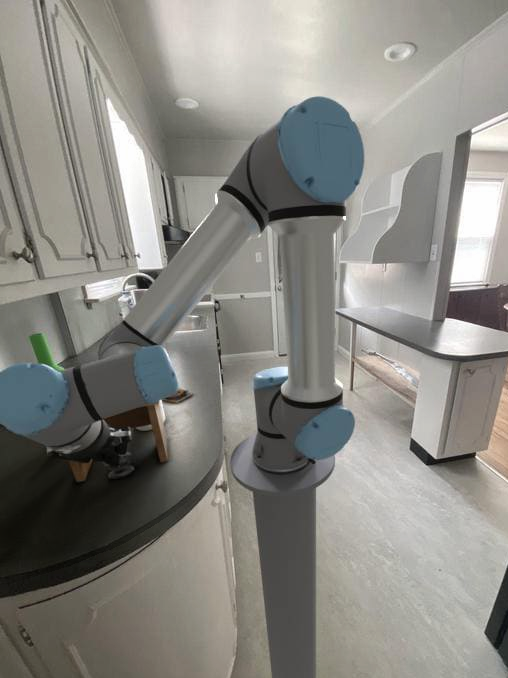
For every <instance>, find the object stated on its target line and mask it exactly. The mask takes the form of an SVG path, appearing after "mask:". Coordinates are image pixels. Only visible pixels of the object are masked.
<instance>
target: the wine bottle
mask: <svg viewBox="0 0 508 678" xmlns="http://www.w3.org/2000/svg"><path fill="white" fill-rule="evenodd" d="M28 338H29V342H30V344H31V346H32V349H33V353H34V354H35V358H36V360H37V363H38V364H44V365H47V366H49V367H51V368H53V369H55V370H56V371H61V370H65V369H66V368H64V367H62V366H60V365H58V364H56V363H55V361H54V358H53V355H52V352H51V350H50V346H49V343H48V342H47V338H46V336H45V334H44V333H43V332H40V333H32V334H29V335H28Z"/></svg>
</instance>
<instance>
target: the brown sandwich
mask: <svg viewBox="0 0 508 678" xmlns="http://www.w3.org/2000/svg"><path fill="white" fill-rule="evenodd" d="M191 396H194V394H193V392H190V391H189V390H185V389H183V388H182V387H178V391H177V392H176V393H175V394H173V395H171V396H169V397H166V398H164V399H161V400H162V401H165V402H171V403H175V404H179V403H180V402H182V401H184V400H186V399H188V398H189V397H191Z"/></svg>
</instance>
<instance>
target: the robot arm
mask: <svg viewBox="0 0 508 678" xmlns="http://www.w3.org/2000/svg"><path fill="white" fill-rule="evenodd" d="M364 169H365V149H364V143H363V138H362V135H361V132H360V130H359V127H358V125H357V122H356V121H353V120H352V118H351V115H350V113H349V111H348V110H347V108H345V107H344V106H343V105H342V104H341V103H340V102H338V101H336V100H335V99H332V98H330V97H328V96H323V95H322V96H320V95H319V96H317V95H316V96H311V97H309V98H306V99H305V100H303V101H301V102H300V103H298V104H296V105H293V106H291V107H289V108H288V109H287V110H286V111H285V112H284V113H283V114H282V116H281V118H280V119H279V120H277V121H276V122H275V123H273V124H272V125H270V127H268V128H267V129H265V131H264V132H262V133H261V134H259V135H258V136H256V138H255V139H253V141H252V142H251V143H250V144H249V145H248V147H247V148H246V149H245V151H244V153H243V154H242V155H241V158H240V159H239V160H238V161H237V163H236V165H235V166H234V168H233V169H232V171H231V173H230V174H229V176H228V177H227V178H226V180H225V181H224V182H223V184H222V186H220V188H219V189H218V190H217V192H216V193H215V196H214V197H215V205H214V206H213V208H212V209H211V210H210V212H208V214H207V215H206V216H205V218H204V219H203V220H202V221H201V223H199V225H198V226H197V227H196V229H195V230H194V231H193V233H192V234H190V236H189V237H188V238H187V240H186V241H185V242H184V244H183V245H182V246H181V248H180V249H179V250H178V251H177V252H176V254H175V255H174V256H173V257H172V259H170V261H169V262H168V263H167V265H166V266H165V267H164V268H163V270H162V271H161V272H160V273H159V274H158V275H157V277H156V278H155V280H154V281H153V282H152V283H151V285H150V286H149V287H148V288H147V290H146V291H145V292H144V293H143V294H142V295H141V297H140V298H139V299H138V300H137V302H136V303H135V304H134V306H133V307H132V308H131V309H130V310H129V312H128V313H127V314H126V315H125V316H124V318H123V319H122V321H121V322H120V323H119V324H118V326H117V327H116V328H115V329H114V330H113V332H111V333H109V334H107V335H106V336H105V338H103V340H102V341H101V343H100V344H99V347H98V351H97V356H98V360H95V361H93V362H89V363H86V364H81V365H77V366H73V367H68V368H64V369H65V370H61V371H56V370H55V369H53V368H51V367H49V366H47V365H44V364H39V363H38V362H21V363H17V364H16V363H15V364H13V365H10V366H8V367H6V368H4V369H3V370H1V371H0V425H2V426H4V427H5V428H6V430H8V431H9V432H11V433H13V434H16V435H19V436H22V437H25V438H27V439H30V440H31V441H34V442H36V443H37V444H39V445H41V446H43V447H46V458H47V459H48V458H49V459H62V460H67V461H69V460H72V461H77V462H82V463H88V462H90V460H91V459H92V461H94V462H101V463H103V462H105V463H107V464H108V465H110V466H115V465H120V463H119V458H120V457H121V455H124V454H126V452H128V444H129V443H130V442H132V441H133V438H132V432H131V430H132V428H131V429H130V427H124V428H123V429H121V430H118V431H115V429H113V428H109V427H108V425H107V424H106V422H105V421H104V420H103V419H105V418H108V417H111V416H114V415H117V414H120V413H123V412H126V411H129V410H132V409H135V408H138V407H141V406H144V405H147V404H150V403H151V404H153V403H156V402H158V401H159V400H161V399H164V398H166V397H169V396H171V395H173V394H175V393H176V392H177V391H178V388H180V387H179V380H178V378H177V374H176V371H175V368H174V366H173V363H172V360H171V358H170V356H169V354H168V352H167V350H166V348H165V346H166V345H167V343H168V342H169V341H170V340H171V338H172V337H173V336H174V335H175V334H176V332H177V331H178V329H179V328H180V327H181V326H182V325H183V324H184V322H185V321H186V320H187V318H188V317H189V316H190V314H191V313H192V312H193V311H194V310H195V308H196V307H197V306H198V305H199V303H200V302H201V301H202V299H204V297H205V296H206V294H207V293H208V292H209V291H210V289H211V288H212V287H213V286H214V285H215V283H216V282H217V281H218V280H219V278H220V277H221V276H222V274H224V272H225V270H227V268H228V267H229V266H230V264H231V263H232V262H233V261H234V259H235V258H236V257H237V256H238V254H239V253H240V252H241V251H242V249H243V248H244V247H245V246H246V244H247V243H248V242H249V241H250V240H251V239H253V240H254V239H259V238H260V236H261V235H262V234H263V232H265V230H267V228H268V227H270V229H271V230H273V232H275V233H276V234H277V236H278V238H279V251H280V264H281V265H280V266H281V280H282V281H281V283H282V297H283V299H282V300H283V313H284V315H283V316H284V329H285V330H284V331H285V332H284V333H285V345H286V347H285V348H286V363H287V364H286V365H287V366H276V367H272V368H267V369H263V370H260V371H259V372H257V373H256V374H255V375H254V377H253V387H252V391H253V395H254V396H253V397H254V406H255V407H254V408H255V416H256V417H255V418H256V428H257V432H256V433H257V435H256V438H255V442H254V445H253V450H252V456H253V462H254V464H255V465H256V466H257V467H258V468H259V469H261V470H262V471H265V472H267V473H271V474H290V473H294V472H297V471H300V470H302V469H304V468H305V467H306V466H307V465H308V464H309V463H310V462H311V463H312V464H313V465H314V464H315V463H316V461H315V460H323V459H326V458H329V457H331V456H333V455H335V456H336V454H338V453H339V452H340V451H341V450H342V449H344V447H345V446H346V445H347V444H348V443H349V441H350V440H351V438H352V436H353V433H354V430H355V427H356V418H355V415H354V413H353V412H352V411H351V409H350V408H349V407H347V406H345V405H344V387H343V383H342V382H341V381H340V380H338V379H337V378H336V374H335V373H336V234H337V233H338V230H339V229H340V228H341V227H342V225H344V223H345V222H347V221H346V220H347V200H348V199H350V197H351V196H352V195H353V194H354V193H355V192H356V191H357V186H359V185H360V183H361V181H362V179H363V174H364ZM115 439H117V440H118V444H119V445H116V444H115V443H114V442H113V441H114V440H115Z"/></svg>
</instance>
